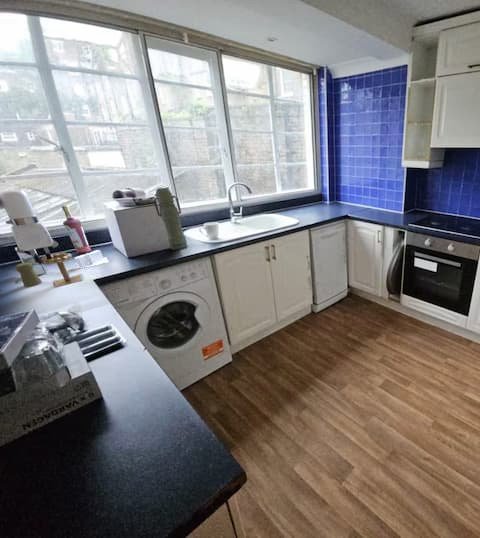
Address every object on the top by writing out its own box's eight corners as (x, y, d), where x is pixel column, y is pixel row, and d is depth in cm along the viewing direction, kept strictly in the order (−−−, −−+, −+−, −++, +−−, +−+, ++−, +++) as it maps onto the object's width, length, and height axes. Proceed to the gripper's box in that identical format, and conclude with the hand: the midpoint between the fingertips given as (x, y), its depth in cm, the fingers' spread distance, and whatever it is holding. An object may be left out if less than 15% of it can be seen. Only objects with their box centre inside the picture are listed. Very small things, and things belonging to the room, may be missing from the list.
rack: (56, 289, 129) (44, 265, 125) (55, 283, 135) (44, 260, 130) (83, 282, 135) (72, 259, 130) (81, 277, 141) (71, 255, 136)
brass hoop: (42, 266, 124) (39, 262, 123) (41, 260, 130) (39, 256, 129) (73, 260, 130) (71, 255, 130) (71, 255, 137) (69, 251, 136)
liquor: (95, 251, 177) (76, 204, 166) (83, 255, 170) (62, 207, 159) (86, 250, 178) (67, 204, 167) (73, 254, 172) (52, 207, 161)
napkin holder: (105, 257, 166) (102, 247, 164) (109, 261, 159) (105, 251, 157) (70, 265, 156) (66, 255, 154) (72, 270, 149) (68, 260, 147)
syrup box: (44, 271, 149) (31, 244, 144) (47, 273, 146) (33, 246, 140) (28, 275, 145) (14, 247, 139) (31, 277, 142) (16, 249, 136)
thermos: (166, 247, 178) (148, 188, 164) (188, 243, 185) (172, 186, 171) (169, 251, 172) (151, 190, 158) (191, 246, 179) (175, 187, 165)
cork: (43, 281, 137) (32, 260, 132) (43, 285, 133) (31, 263, 128) (25, 286, 133) (13, 263, 129) (24, 290, 129) (11, 267, 125)
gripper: (-5, 226, 113) (18, 270, 120) (52, 218, 123) (70, 259, 130) (-4, 223, 118) (18, 266, 125) (52, 216, 128) (69, 255, 135)
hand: (45, 262), depth 128 cm, fingers closed on brass hoop, 2 cm apart
